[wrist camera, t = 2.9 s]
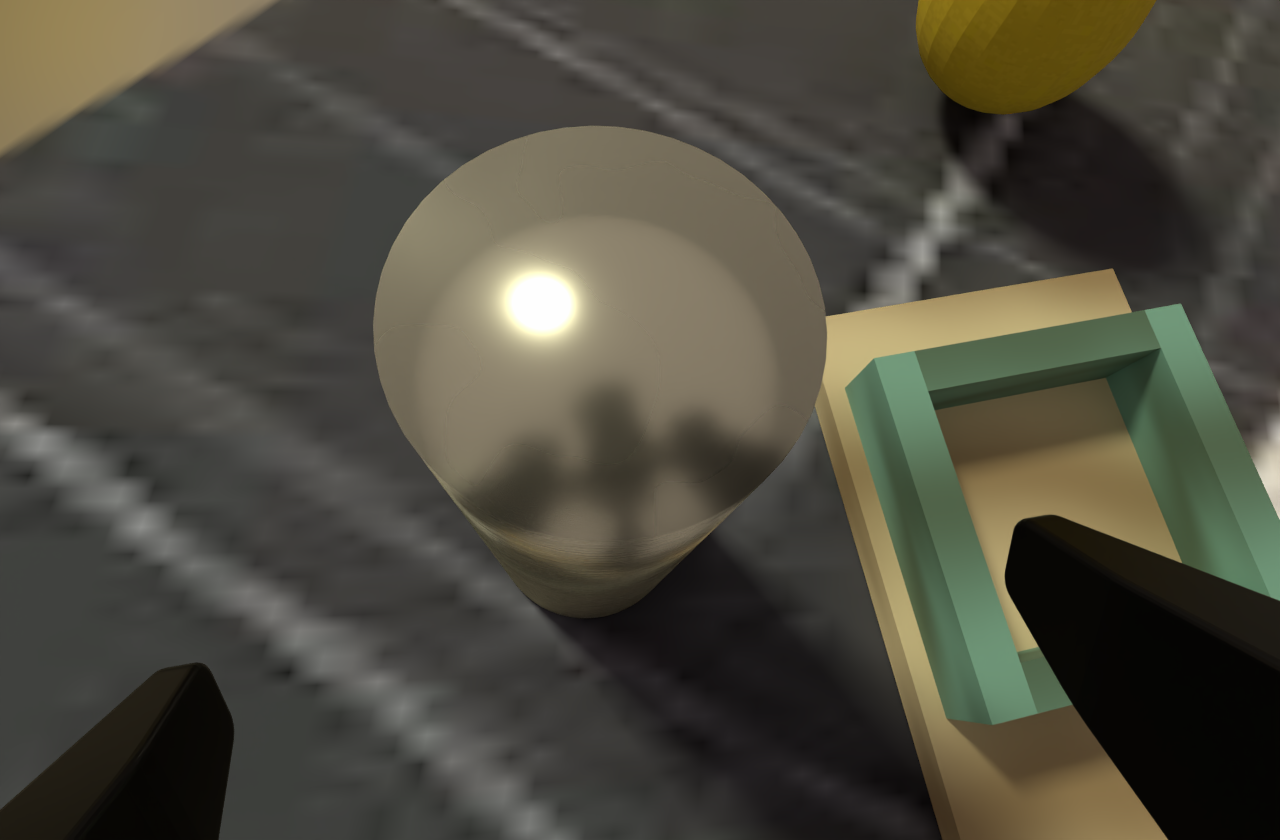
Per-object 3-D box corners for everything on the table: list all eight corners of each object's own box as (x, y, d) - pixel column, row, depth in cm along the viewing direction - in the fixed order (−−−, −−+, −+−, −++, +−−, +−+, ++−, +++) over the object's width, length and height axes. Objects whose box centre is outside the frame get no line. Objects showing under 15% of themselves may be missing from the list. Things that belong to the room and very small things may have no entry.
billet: (693, 597, 19) (883, 489, 7) (512, 636, 18) (404, 587, 7) (654, 426, 20) (763, 102, 8) (484, 457, 19) (350, 153, 8)
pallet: (1593, 1479, 15) (1836, 1674, 12) (1185, 1666, 14) (1348, 1934, 11) (1089, 285, 22) (1165, 229, 19) (794, 335, 21) (828, 283, 18)
